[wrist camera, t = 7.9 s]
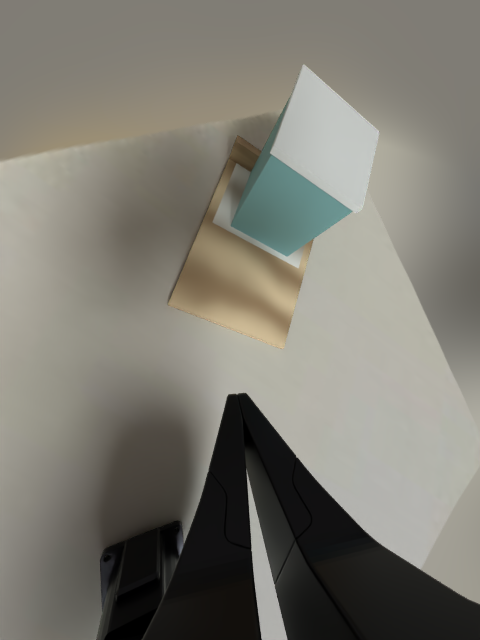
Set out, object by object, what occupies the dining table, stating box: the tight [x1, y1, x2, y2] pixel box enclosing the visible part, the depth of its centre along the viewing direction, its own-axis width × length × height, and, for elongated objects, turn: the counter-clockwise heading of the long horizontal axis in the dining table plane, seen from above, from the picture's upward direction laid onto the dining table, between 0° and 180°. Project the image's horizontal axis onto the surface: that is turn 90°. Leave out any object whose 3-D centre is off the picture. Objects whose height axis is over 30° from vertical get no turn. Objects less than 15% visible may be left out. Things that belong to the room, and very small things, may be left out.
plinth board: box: [168, 136, 313, 349], centre depth 24 cm, size 20×14×3 cm
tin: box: [231, 64, 379, 257], centre depth 21 cm, size 8×8×11 cm
